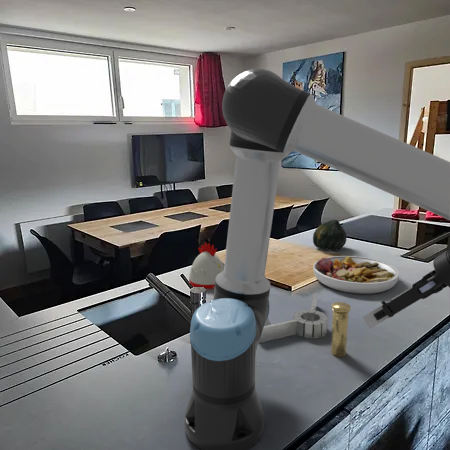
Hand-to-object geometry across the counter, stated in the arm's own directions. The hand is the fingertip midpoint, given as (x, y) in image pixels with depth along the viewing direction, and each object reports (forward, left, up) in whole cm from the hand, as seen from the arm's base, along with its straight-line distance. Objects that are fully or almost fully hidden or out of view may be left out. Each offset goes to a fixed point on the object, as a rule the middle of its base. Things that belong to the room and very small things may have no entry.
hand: (381, 312), depth 90 cm
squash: (+97, +16, -15) cm, 99 cm away
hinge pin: (+5, +9, -14) cm, 18 cm away
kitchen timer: (+42, +57, -15) cm, 72 cm away
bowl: (+58, +5, -15) cm, 60 cm away
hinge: (+18, +21, -14) cm, 31 cm away
